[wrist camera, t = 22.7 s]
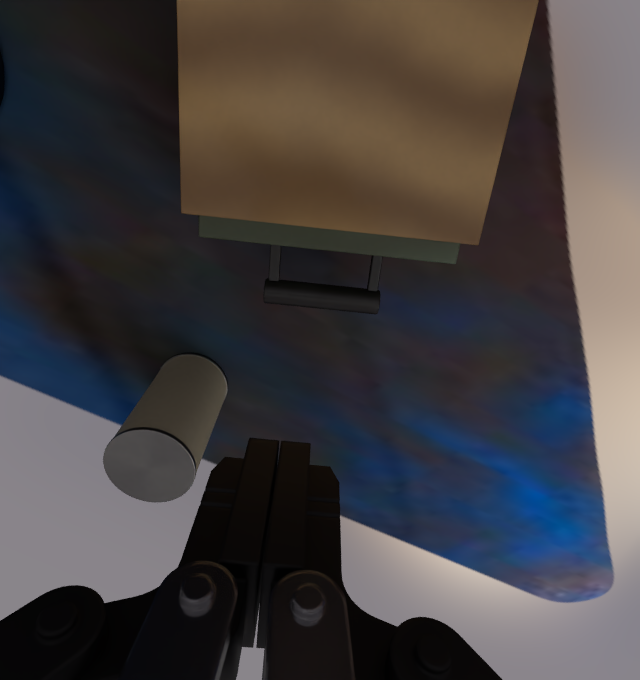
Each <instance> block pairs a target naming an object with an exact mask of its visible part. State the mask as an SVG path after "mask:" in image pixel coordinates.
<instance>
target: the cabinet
mask: <svg viewBox="0 0 640 680" xmlns="http://www.w3.org/2000/svg"><path fill="white" fill-rule="evenodd" d="M538 1H539V0H177V39H178V86H179V133H180V180H181V213H183V214H193V215H202V216H211V217H220V218H230V219H239V220H248V221H258V222H267V223H276V224H285V225H295V226H304V227H313V228H323V229H332V230H341V231H350V232H360V233H369V234H378V235H388V236H397V237H406V238H415V239H425V240H434V241H443V242H453V243H462V244H471V245H478V244H479V240H480V236H481V232H482V228H483V224H484V220H485V216H486V212H487V208H488V204H489V200H490V196H491V192H492V188H493V183H494V179H495V175H496V171H497V167H498V163H499V159H500V155H501V151H502V147H503V143H504V139H505V135H506V131H507V127H508V123H509V119H510V115H511V111H512V107H513V102H514V98H515V94H516V90H517V86H518V82H519V78H520V74H521V70H522V66H523V62H524V58H525V54H526V50H527V46H528V42H529V38H530V34H531V30H532V25H533V21H534V17H535V13H536V9H537V5H538Z"/></svg>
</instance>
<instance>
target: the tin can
mask: <svg viewBox="0 0 640 680" xmlns="http://www.w3.org/2000/svg"><path fill="white" fill-rule="evenodd" d="M227 391H228V382H227V378H226V375H225V374H224V372H223V370H222V369H221V367H220V366H219V365H218V364H217V363H215V362H214V361H213V360H211V359H210V358H208V357H206V356H203V355H200V354H196V353H182V354H178V355H175V356H173V357H171V358H170V359H168V360H167V361H166V362H165V363H164V364H163V366H162V367H161V369H160V371H159V373H158V374H157V376H156V377H155V379H154V380H153V381H152V383H151V384H150V386H149V387H148V389H147V390H146V392H145V393H144V395H143V396H142V397H141V399H140V400H139V402H138V403H137V405H136V406H135V408H134V409H133V410H132V412H131V413H130V415H129V416H128V418H127V419H126V421H125V422H124V424H123V425H122V426H121V428H120V430H119V431H118V432H117V434H116V435H115V437H114V438H113V439H112V440H111V441H110V442H109V444H108V445H107V447H106V449H105V453H104V457H103V463H104V468H105V471H106V473H107V475H108V477H109V479H110V480H111V481H112V483H113V484H114V485H115V486H116V487H117V488H118V489H120V490H121V491H123V492H124V493H125V494H127V495H129V496H131V497H134V498H136V499H139V500H143V501H147V502H166V501H171V500H174V499H176V498H178V497H180V496H182V495H183V494H184V493H186V492H187V491H188V490H189V489H190V487H191V486H192V484H193V481H194V479H195V475H196V472H197V469H198V466H199V464H200V461H201V459H202V456H203V453H204V451H205V448H206V446H207V443H208V440H209V438H210V435H211V433H212V430H213V427H214V425H215V422H216V419H217V417H218V414H219V412H220V409H221V406H222V404H223V402H224V400H225V398H226V395H227Z"/></svg>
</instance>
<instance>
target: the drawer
mask: <svg viewBox="0 0 640 680" xmlns="http://www.w3.org/2000/svg"><path fill="white" fill-rule="evenodd" d="M199 237H205V238H214V239H224V240H233V241H242V242H252V243H261V244H271V247H270V264H269V279H268V278H267V279H266V281H265V286H264V303H271V304H281V305H291V306H300V307H310V308H320V309H329V310H339V311H349V312H358V313H368V314H377V313H378V310H379V305H380V291H379V290H378V284H379V278H380V272H381V266H382V260H383V257H393V258H402V259H411V260H421V261H430V262H439V263H449V264H456V261H457V256H458V252H459V248H460V243H453V242H443V241H434V240H425V239H415V238H406V237H397V236H388V235H378V234H369V233H360V232H350V231H341V230H332V229H323V228H313V227H304V226H295V225H285V224H276V223H267V222H258V221H248V220H239V219H230V218H220V217H211V216H202V215H199ZM282 246H289V247H299V248H308V249H317V250H327V251H336V252H346V253H355V254H364V255H372V258H371V265H370V271H369V278H368V285H367V289H364V288H354V287H345V286H335V285H326V284H316V283H307V282H297V281H287V280H279V276H280V261H281V247H282Z"/></svg>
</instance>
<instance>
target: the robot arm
mask: <svg viewBox="0 0 640 680" xmlns="http://www.w3.org/2000/svg"><path fill="white" fill-rule="evenodd" d="M4 83H5V80H4V66H3V60H2V56H1V52H0V105H1V102H2V98H3V93H4ZM310 445H311V444H310V443H300V442H290V441H281V447H280V453H279V460H278V451H279V441H278V440H268V439H257V438H249V441H248V445H247V449H246V453H245V457H244V459H241V458H231V457H225V458H224V459H223V460H222V461H221V462H220V463H219V464H218V465H217V466H216V467H215V468H214V469H213V470H212V471H211V474H210V476H209V479H208V482H207V485H206V489H205V491H204V494H203V497H202V500H201V504H200V506H199V509H198V512H197V515H196V518H195V520H194V524H193V526H192V529H191V532H190V535H189V538H188V541H187V544H186V547H185V550H184V553H183V556H182V559H181V561H180V563H179V566H178V568H177V569H175V570H174V571H172V572H171V573H170V574H169V575H168V576H167V577H166V578H165V579H164V581H163V582H162V583H161V585H160V586H159V587H157V588H156V589H154V590H152V591H150V592H148V593H145V594H143V595H139V596H136V597H132V598H127V599H122V600H118V601H113V602H108V603H104V601H103V599H102V598H101V596H100V595H99V594H98V593H97V592H96V591H94V590H93V589H91V588H88V587H85V586H78V585H76V586H66V587H60V588H57V589H54V590H51V591H49V592H47V593H45V594H43V595H41V596H39V597H38V598H36V599H35V600H33V601H31V602H30V603H28V604H27V605H25V606H23V607H22V608H20V609H19V610H17V611H15V612H14V613H12V614H11V615H9V616H7V617H6V618H4V619H3V620H1V621H0V680H236V677H237V673H238V667H239V660H240V655H241V649H242V647H253V643H254V638H255V631H256V624H257V616H258V610H259V621H258V634H257V648H265V650H264V662H263V674H262V680H502V679H501V678H500V677H499V676H498V675H497V674H496V673H495V672H494V671H493V669H492V668H491V667H490V666H489V665H488V664H487V663H486V662H485V661H484V660H483V659H482V658H481V657H480V656H479V655H478V654H477V653H476V652H475V651H474V650H473V649H472V648H471V647H470V646H469V645H468V644H467V643H466V642H465V640H463V638H462V637H461V636H460V635H459V634H458V633H456V632H455V631H454V630H453V629H452V628H450V627H449V626H448V625H446V624H444V623H442V622H440V621H438V620H435V619H432V618H427V617H416V618H411V619H408V620H406V621H404V622H403V623H401V625H399V626H398V627H397V626H394V625H392V624H389V623H387V622H384V621H382V620H380V619H377V618H375V617H373V616H371V615H369V614H367V613H366V612H364V611H363V610H361V609H360V608H359V607H358V606H357V605H356V604H355V603H354V602H353V601H352V600H351V598H350V597H349V595H348V594H347V592H346V590H345V588H344V585H343V581H342V573H341V537H340V536H341V535H340V504H339V501H340V497H339V482H338V480H337V478H336V476H335V474H334V473H333V471H332V469H331V467H327V466H317V465H309V463H310ZM277 463H278V467H277ZM259 603H260V606H259Z"/></svg>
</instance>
